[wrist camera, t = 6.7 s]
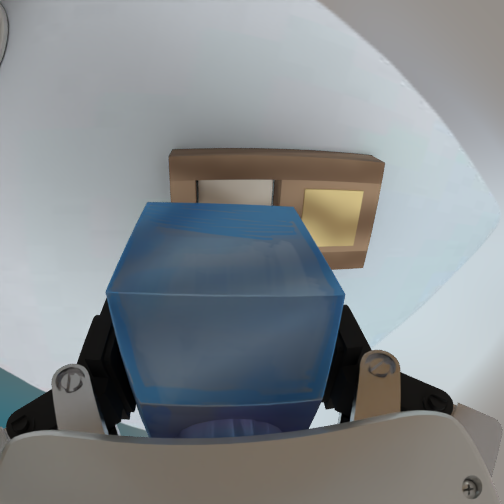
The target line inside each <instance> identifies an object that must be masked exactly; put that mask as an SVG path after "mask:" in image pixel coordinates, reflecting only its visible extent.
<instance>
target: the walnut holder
mask: <svg viewBox="0 0 504 504" xmlns="http://www.w3.org/2000/svg"><path fill="white" fill-rule="evenodd" d="M384 166H385V163H384V162H382V161H381V160H379V159H377V158H375V157H373V156H372V155H364V154H353V153H342V152H329V151H313V150H294V149H265V148H204V149H174V150H172V151H171V153H170V155H169V175H170V193H171V203H197V189H196V180H198V189H199V203H216V204H245V205H267V206H271V201H272V187H273V180H275V181H274V195H273V206H287V207H294V208H295V210H296V212H297V213H298V215H299V216H300V218H301V220H302V221H303V223H304V225H305V226H306V228H307V230H308V231H309V233H310V235H311V236H312V238H313V240H314V241H315V243H316V245H317V246H318V248H319V250H320V251H321V253H322V255H323V256H324V258H325V260H326V262H327V263H328V265H329V267H330V269H331V270H335V269H353V268H363V266H364V262H365V258H366V254H367V250H368V245H369V241H370V237H371V233H372V228H373V223H374V219H375V214H376V209H377V204H378V199H379V194H380V189H381V183H382V178H383V172H384Z"/></svg>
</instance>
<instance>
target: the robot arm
mask: <svg viewBox="0 0 504 504" xmlns="http://www.w3.org/2000/svg"><path fill="white" fill-rule="evenodd" d="M7 34H8V22H7V16H6V13H5V10H4V8H3V7H2V6H1V4H0V62H1V60H2V57H3V54H4V50H5V46H6V42H7ZM51 385H52V389H51V390H50V391H48V392H46V393H45V394H43V395H41V396H40V397H38V398H37V399H35V400H33V401H32V402H30V403H28V404H27V405H25V406H23V407H22V408H20V409H18V410H17V411H15V412H14V413H13V414H12V415H11V416H10V417H9V419H8V421H7V425H6V428H5V429H3V428H2V427H0V504H501V501H500V499H499V496H498V493H497V491H496V488H495V486H494V483H493V481H492V479H491V477H492V473H493V470H494V466H495V462H496V459H497V455H498V451H499V446H500V442H501V437H502V427H501V424H500V423H499V422H498V420H496V419H495V418H493V417H490V416H488V415H486V414H483V413H481V412H479V411H476V410H474V409H471V408H469V407H467V406H465V405H462V404H460V403H458V404H457V405H454V404H453V401H452V399H451V398H450V396H449V395H448V394H447V393H446V392H444V391H443V390H441V389H438V388H436V387H434V386H431V385H429V384H426V383H424V382H422V381H420V380H417V379H415V378H412V377H410V376H408V375H406V374H403V373H401V372H400V365H399V362H398V360H397V359H396V358H395V357H394V356H393V355H392V354H390V353H388V352H386V351H382V350H371V348H370V346H369V344H368V342H367V340H366V338H365V337H364V335H363V333H362V331H361V329H360V327H359V325H358V323H357V321H356V319H355V318H354V316H353V314H352V312H351V310H350V308H349V307H348V306H347V305H343V309H342V315H341V320H340V325H339V330H338V335H337V339H336V344H335V349H334V353H333V358H332V362H331V366H330V371H329V375H328V379H327V383H326V387H325V391H324V395H323V399H322V401H321V402H324V405H325V408H326V409H331V408H335V410H336V411H338V412H340V413H339V419H338V424H335V425H330V426H324V427H318V428H313V429H306V430H299V431H291V432H283V433H274V434H265V435H254V436H240V437H223V438H149V437H132V436H121V435H120V432H119V429H118V427H117V424H118V423H119V422H121V419H127V420H130V413H131V412H134V411H135V408H136V402H135V399H134V396H133V393H132V390H131V387H130V384H129V381H128V377H127V374H126V371H125V367H124V364H123V361H122V357H121V354H120V350H119V346H118V342H117V339H116V335H115V331H114V327H113V323H112V319H111V314H110V310H109V305H108V301H107V298H106V301H105V303H104V306H103V308H102V311H101V314H100V315H96V316H95V317H94V318H93V321H92V323H91V326H90V328H89V331H88V334H87V336H86V339H85V342H84V345H83V347H82V350H81V353H80V356H79V359H78V362H77V364H68V365H65V366H63V367H61V368H60V369H58V370H57V371H56V372H55V374H54V375H53V378H52V384H51Z"/></svg>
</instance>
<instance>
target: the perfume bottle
mask: <svg viewBox="0 0 504 504" xmlns="http://www.w3.org/2000/svg"><path fill="white" fill-rule="evenodd" d="M106 296H107V301H108V305H109V310H110V314H111V319H112V323H113V327H114V331H115V335H116V339H117V342H118V346H119V350H120V354H121V357H122V361H123V364H124V367H125V371H126V374H127V377H128V381H129V384H130V387H131V390H132V393H133V396H134V399H135V402H136V405H137V408H138V411H139V414H140V416H141V419H142V422H143V424H144V426H145V429H146V431H147V433H148V436H149V438H223V437H240V436H254V435H265V434H274V433H283V432H291V431H299V430H306V429H309V427H310V425H311V423H312V421H313V419H314V416H315V414H316V412H317V410H318V408H319V405H320V403H321V401H322V399H323V395H324V391H325V387H326V383H327V379H328V375H329V371H330V366H331V362H332V358H333V353H334V349H335V344H336V339H337V335H338V330H339V325H340V320H341V315H342V309H343V304H344V299H345V293H344V291H343V290H342V288H341V286H340V284H339V282H338V281H337V279H336V277H335V275H334V274H333V272H332V270H331V269H330V267H329V265H328V263H327V262H326V260H325V258H324V256H323V255H322V253H321V251H320V250H319V248H318V246H317V245H316V243H315V241H314V240H313V238H312V236H311V235H310V233H309V231H308V230H307V228H306V226H305V225H304V223H303V221H302V220H301V218H300V216H299V215H298V213H297V212H296V210H295V208H294V207H287V206H267V205H245V204H216V203H169V202H147V204H146V206H145V208H144V210H143V212H142V214H141V216H140V218H139V220H138V222H137V224H136V226H135V228H134V230H133V232H132V234H131V236H130V238H129V240H128V242H127V245H126V247H125V249H124V251H123V253H122V255H121V258H120V260H119V262H118V264H117V266H116V269H115V271H114V273H113V276H112V278H111V280H110V283H109V285H108V287H107V290H106Z"/></svg>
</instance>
